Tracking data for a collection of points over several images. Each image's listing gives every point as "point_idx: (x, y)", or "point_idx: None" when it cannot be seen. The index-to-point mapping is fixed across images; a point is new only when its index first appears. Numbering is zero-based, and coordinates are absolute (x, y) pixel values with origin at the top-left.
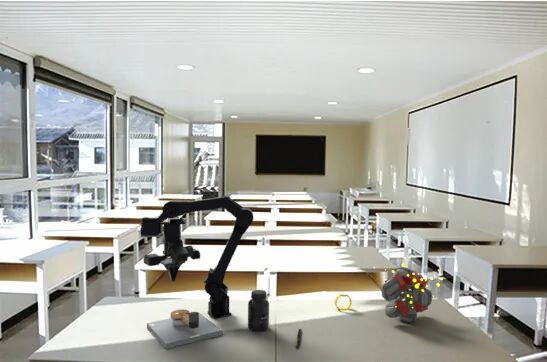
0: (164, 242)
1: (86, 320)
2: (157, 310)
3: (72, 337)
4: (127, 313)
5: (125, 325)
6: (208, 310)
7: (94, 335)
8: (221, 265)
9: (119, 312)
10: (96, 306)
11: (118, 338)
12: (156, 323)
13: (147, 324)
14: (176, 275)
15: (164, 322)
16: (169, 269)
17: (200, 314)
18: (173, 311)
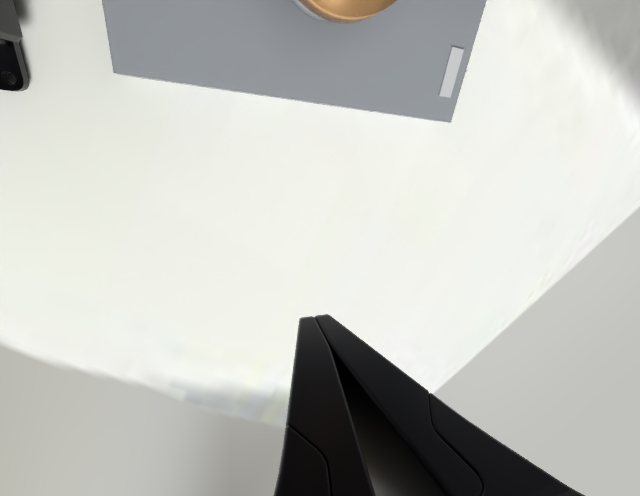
0: None
1: (504, 310)
2: (300, 294)
3: (602, 205)
4: (400, 313)
5: (468, 206)
6: (6, 28)
7: (571, 179)
8: None
9: (412, 331)
10: None
11: (559, 88)
12: (424, 81)
13: (451, 110)
14: (295, 369)
15: (389, 60)
16: (524, 465)
17: (113, 8)
18: (379, 2)
